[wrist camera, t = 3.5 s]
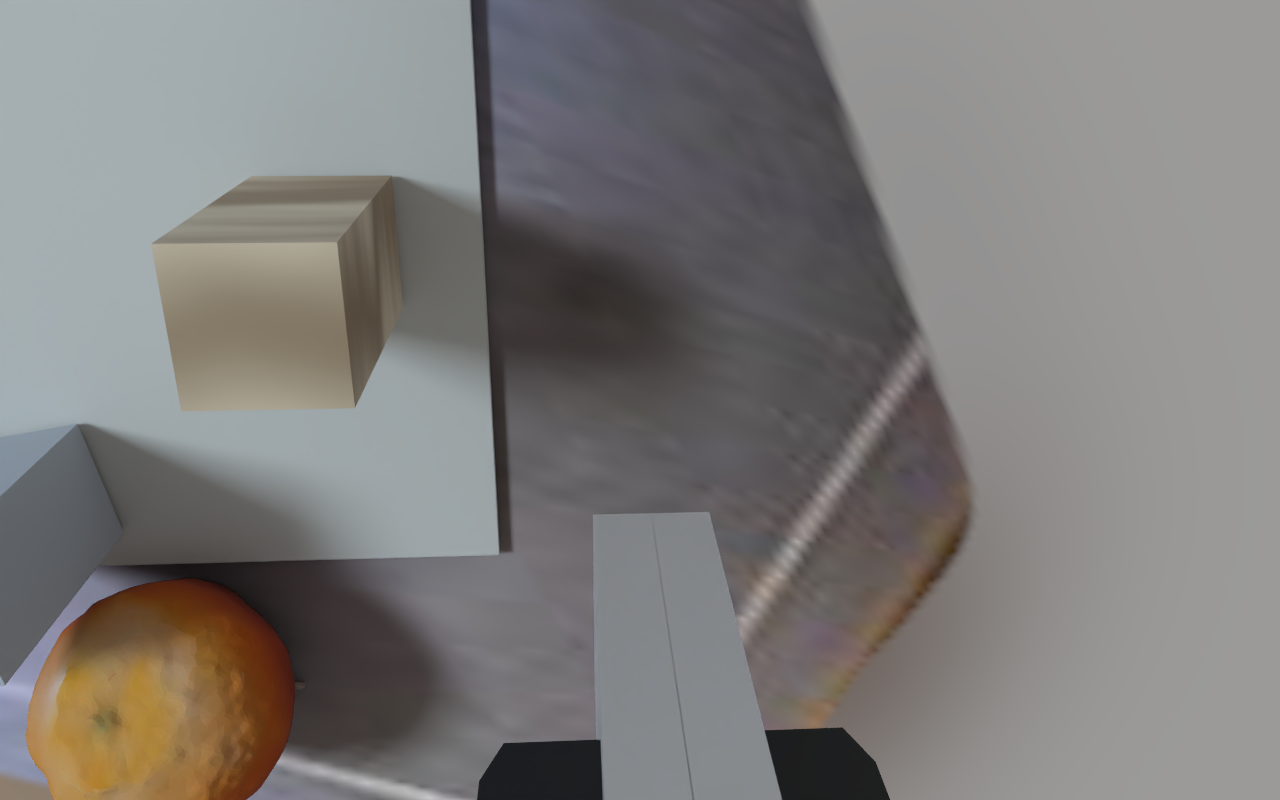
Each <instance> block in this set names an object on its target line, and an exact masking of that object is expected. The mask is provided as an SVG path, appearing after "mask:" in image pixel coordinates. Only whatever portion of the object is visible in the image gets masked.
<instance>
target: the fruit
mask: <svg viewBox="0 0 1280 800" xmlns="http://www.w3.org/2000/svg"><path fill="white" fill-rule="evenodd" d="M305 685H306V683H305V682H295V681H294V675H293V670H292V666H291V662H290V658H289V654H288V651H287V648H286V646H285V645H284V643H283V642H282V640H281V639H280V637H279V636H278V634H277V633H276V631H275V630H274V628H273V627H272V626H271V625H270V624H269V623H268V622H267V621H266V620H265V619H264V618H263V617H262V616H261V615H260V614H259V613H257V612H256V611H255V610H254V609H253V608H251V607H250V606H249V605H248V604H247V603H246V602H245V601H244V600H242V599H241V598H240V597H239V596H238V595H237V594H236V593H235V592H234V591H232V590H231V589H229V588H227V587H226V586H223V585H220V584H218V583H214V582H209V581H205V580H200V579H193V578H183V579H174V580H166V581H158V582H152V583H146V584H142V585H138V586H135V587H131V588H128V589H126V590H123V591H120V592H118V593H116V594H113V595H111V596H109V597H107V598H104V599H102V600H100V601H97V602H96V603H94V604H93V605H92V606H91V607H90V608H89V609H88V610H87V611H86V612H85V613H84V614H83V615H81V616H80V617H78V618H77V619H76V620H75V621H73V622H72V623H71V624H70V625H69V626H67V627H66V628H65V629H64V631H63V632H62V633H61V634H60V636H59V638H58V640H57V642H56V643H55V645H54V647H53V649H52V651H51V652H50V654H49V656H48V658H47V660H46V662H45V664H44V666H43V668H42V670H41V672H40V675H39V677H38V680H37V682H36V684H35V688H34V691H33V695H32V698H31V701H30V704H29V713H28V724H27V731H26V741H27V746H28V750H29V753H30V755H31V757H32V759H33V761H34V763H35V765H36V766H37V767H38V768H39V769H40V770H41V771H42V772H43V774H44V775H45V777H46V778H47V781H48V785H49V788H50V792H51V795H52V797H53V798H54V800H246V799H248V798H249V797H250V796H252V795H253V794H254V793H255V792H256V791H257V790H258V789H259V788H260V787H261V786H262V785H263V783H264V782H265V780H266V779H267V777H268V775H269V774H270V772H271V771H272V769H273V768H274V766H275V765H276V763H277V761H278V760H279V758H280V756H281V754H282V752H283V750H284V748H285V746H286V743H287V741H288V737H289V734H290V729H291V725H292V719H293V710H294V700H295V690H300V689H305V688H304V686H305Z"/></svg>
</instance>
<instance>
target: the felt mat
mask: <svg viewBox="0 0 1280 800" xmlns="http://www.w3.org/2000/svg"><path fill="white" fill-rule="evenodd" d="M251 176H392V185H393V196H394V208H395V220H396V231H397V243H398V255H399V266H400V278H401V290H402V301H403V308H402V310H401V312H400V314H399V317H398V319H397V321H396V323H395V325H394V327H393V329H392V331H391V333H390V336H389V338H388V340H387V342H386V344H385V346H384V348H383V350H382V352H381V355H380V357H379V359H378V361H377V363H376V365H375V367H374V369H373V371H372V374H371V376H370V378H369V380H368V382H367V384H366V386H365V388H364V390H363V393H362V395H361V397H360V399H359V401H358V403H357V405H356V407H355V408H343V409H290V410H237V411H184V412H181V407H180V402H179V396H178V391H177V385H176V379H175V374H174V368H173V363H172V357H171V352H170V346H169V341H168V335H167V330H166V324H165V319H164V313H163V308H162V302H161V297H160V291H159V286H158V280H157V275H156V269H155V264H154V258H153V252H152V247H151V244H152V243H153V242H155V241H156V240H157V239H159V238H160V237H162V236H163V235H165V234H166V233H168V232H169V231H171V230H172V229H174V228H175V227H177V226H178V225H180V224H181V223H183V222H184V221H186V220H187V219H189V218H190V217H191V216H193V215H194V214H196V213H197V212H199V211H200V210H202V209H203V208H205V207H206V206H208V205H209V204H211V203H212V202H214V201H215V200H217V199H218V198H220V197H221V196H223V195H224V194H226V193H227V192H228V191H230V190H231V189H233V188H234V187H236V186H237V185H239V184H240V183H242V182H243V181H245V180H246V179H248V178H249V177H251ZM72 424H78V426H79V429H80V431H81V433H82V436H83V438H84V440H85V443H86V445H87V447H88V450H89V452H90V454H91V457H92V459H93V461H94V464H95V466H96V468H97V471H98V473H99V475H100V478H101V480H102V482H103V485H104V487H105V489H106V492H107V494H108V497H109V499H110V501H111V504H112V506H113V508H114V511H115V513H116V515H117V518H118V520H119V522H120V525H121V527H122V529H123V532H124V533H123V534H122V535H121V537H120V538H119V539H118V541H117V542H116V543H115V544H114V546H113V547H112V548H111V550H110V551H109V552H108V553H107V555H106V556H105V557H104V559H103V560H102V561H101V562H100V564H99V565H98V566H120V565H155V564H191V563H227V562H262V561H298V560H334V559H369V558H405V557H441V556H476V555H499V551H500V545H499V526H498V507H497V487H496V468H495V449H494V430H493V411H492V392H491V373H490V354H489V335H488V316H487V297H486V277H485V258H484V239H483V220H482V201H481V182H480V163H479V144H478V125H477V106H476V86H475V67H474V48H473V29H472V10H471V0H0V438H1V437H6V436H12V435H17V434H23V433H28V432H34V431H39V430H45V429H50V428H56V427H61V426H67V425H72Z"/></svg>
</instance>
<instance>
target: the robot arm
mask: <svg viewBox="0 0 1280 800" xmlns="http://www.w3.org/2000/svg"><path fill="white" fill-rule="evenodd" d="M593 557H594V645H595V703H596V732H597V740H579V741H552V742H525V743H504V744H503V745H502V747H501V748H500V750H499V751H498V753H497V755H496V756H495V758H494V759H493V761H492V762H491V764H490V765H489V767H488V768H487V770H486V771H485V773H484V774H483V776H482V778H481V779H480V781H479V789H478V798H477V800H890V798H889V796H888V793H887V791H886V788H885V785H884V783H883V780H882V778H881V775H880V772H879V770H878V767H877V765H876V762H875V761H874V760H873V759H872V758H871V757H870V756H869V755H868V754H867V753H866V752H865V751H864V749H863V748H862V747H861V746H860V745H859V744H858V743H857V742H856V741H855V740H854V739H853V738H852V737H851V736H850V735H849V734H848V733H847V732H846V731H845V730H844V729H843V728H819V729H792V730H764V727H763V723H762V719H761V715H760V711H759V707H758V703H757V699H756V695H755V691H754V687H753V683H752V679H751V676H750V672H749V668H748V664H747V660H746V656H745V652H744V648H743V644H742V640H741V636H740V632H739V628H738V624H737V620H736V616H735V613H734V609H733V605H732V601H731V597H730V593H729V589H728V585H727V581H726V577H725V573H724V569H723V565H722V561H721V557H720V554H719V550H718V546H717V542H716V538H715V534H714V530H713V526H712V522H711V518H710V514H709V512H688V513H645V514H603V515H593Z"/></svg>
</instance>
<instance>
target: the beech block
mask: <svg viewBox="0 0 1280 800" xmlns="http://www.w3.org/2000/svg"><path fill="white" fill-rule="evenodd" d="M151 247H152V252H153V258H154V264H155V269H156V275H157V280H158V286H159V291H160V297H161V302H162V308H163V313H164V319H165V324H166V330H167V335H168V341H169V346H170V352H171V357H172V363H173V368H174V374H175V379H176V385H177V391H178V396H179V402H180V407H181V412H184V411H237V410H290V409H343V408H355V407H356V405H357V403H358V401H359V399H360V397H361V395H362V393H363V390H364V388H365V386H366V384H367V382H368V380H369V378H370V376H371V374H372V371H373V369H374V367H375V365H376V363H377V361H378V359H379V357H380V355H381V352H382V350H383V348H384V346H385V344H386V342H387V340H388V338H389V336H390V333H391V331H392V329H393V327H394V325H395V323H396V321H397V319H398V317H399V314H400V312H401V310H402V308H403V301H402V290H401V278H400V266H399V255H398V243H397V231H396V220H395V208H394V196H393V185H392V176H251V177H249V178H248V179H246V180H245V181H243V182H242V183H240V184H239V185H237V186H236V187H234V188H233V189H231V190H230V191H228V192H227V193H226V194H224V195H223V196H221V197H220V198H218V199H217V200H215V201H214V202H212V203H211V204H209V205H208V206H206V207H205V208H203V209H202V210H200V211H199V212H197V213H196V214H194V215H193V216H191V217H190V218H189V219H187V220H186V221H184V222H183V223H181V224H180V225H178V226H177V227H175V228H174V229H172V230H171V231H169V232H168V233H166V234H165V235H163V236H162V237H160V238H159V239H157V240H156V241H155V242H153V243H152V244H151Z"/></svg>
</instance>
